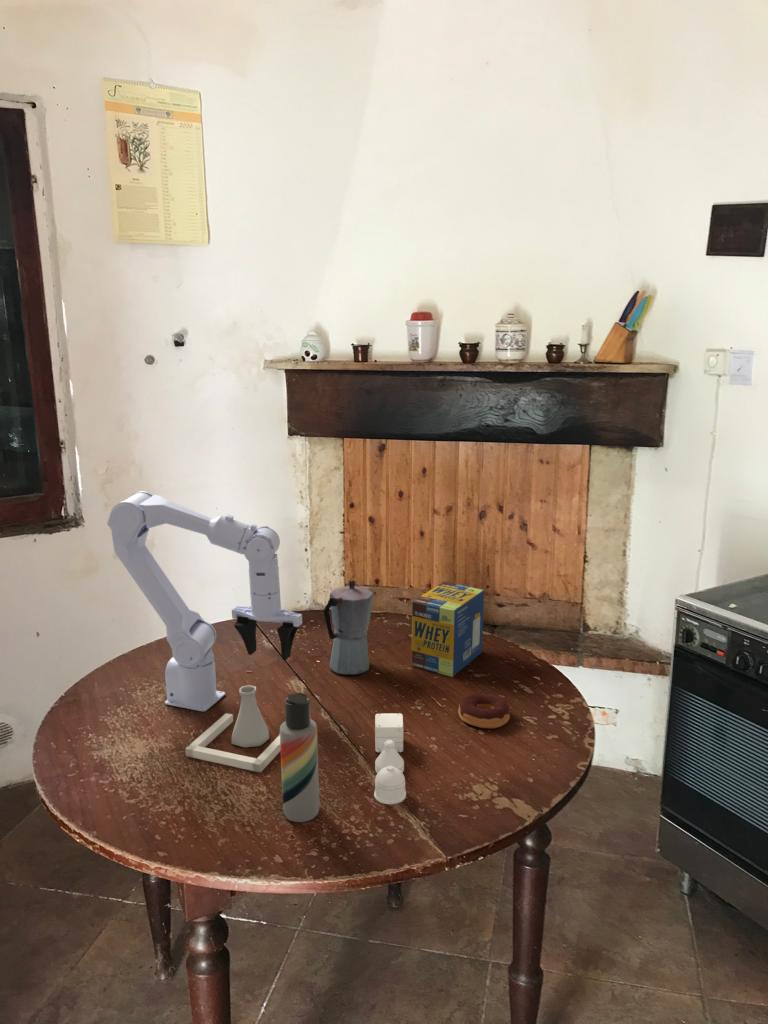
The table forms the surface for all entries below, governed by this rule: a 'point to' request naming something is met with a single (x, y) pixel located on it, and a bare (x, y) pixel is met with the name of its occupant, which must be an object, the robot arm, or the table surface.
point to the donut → (484, 710)
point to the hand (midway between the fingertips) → (269, 655)
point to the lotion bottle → (299, 760)
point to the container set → (389, 758)
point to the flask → (249, 721)
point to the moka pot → (349, 628)
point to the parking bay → (235, 760)
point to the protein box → (447, 628)
